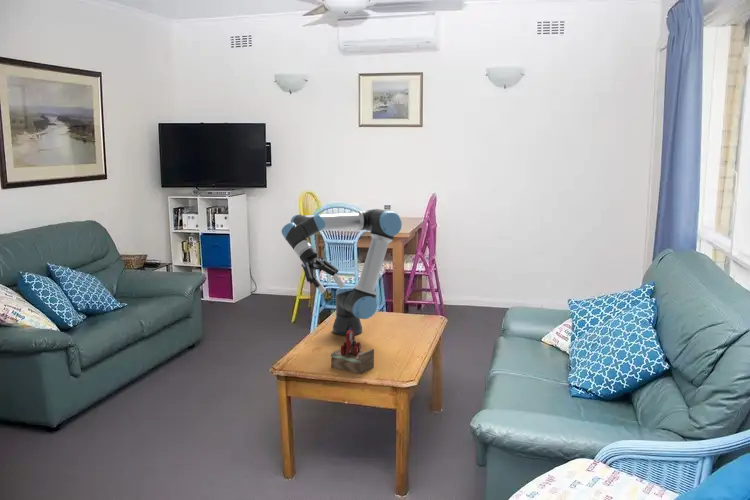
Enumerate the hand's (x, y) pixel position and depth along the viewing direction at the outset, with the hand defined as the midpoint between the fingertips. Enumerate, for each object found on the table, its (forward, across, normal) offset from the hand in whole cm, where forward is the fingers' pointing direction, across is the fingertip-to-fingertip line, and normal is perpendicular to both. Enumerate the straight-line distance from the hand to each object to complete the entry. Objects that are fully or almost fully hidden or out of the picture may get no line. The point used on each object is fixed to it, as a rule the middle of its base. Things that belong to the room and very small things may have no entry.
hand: (333, 289), depth 272 cm
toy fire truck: (+27, +7, -8) cm, 29 cm away
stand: (+32, +7, -11) cm, 35 cm away
